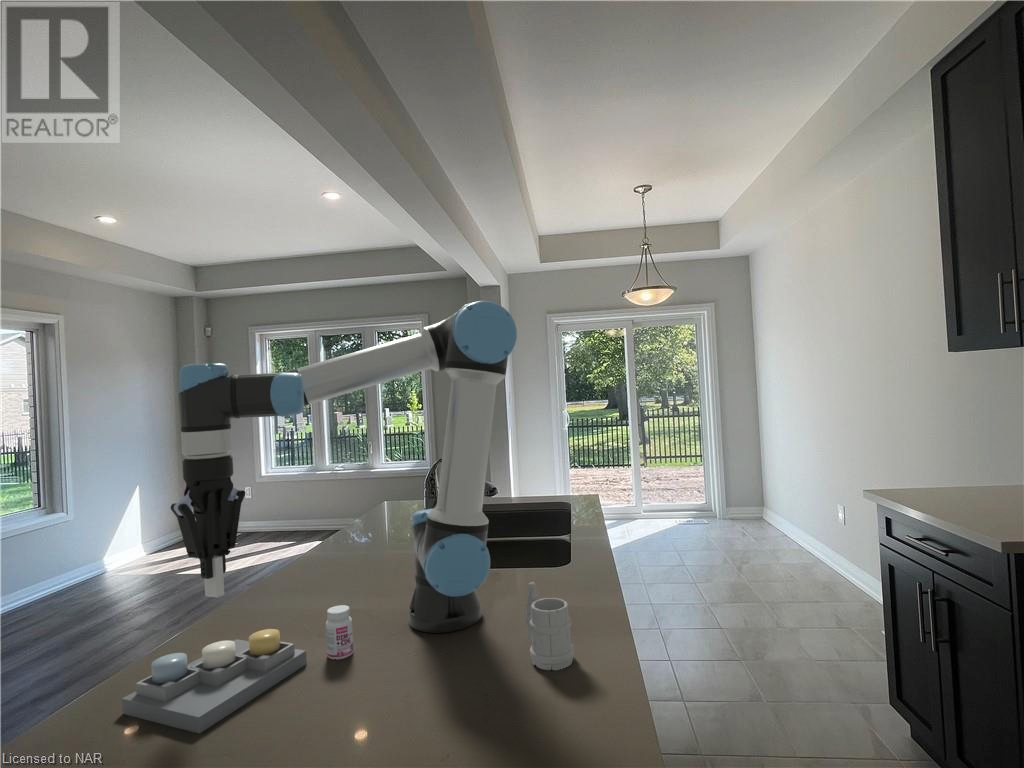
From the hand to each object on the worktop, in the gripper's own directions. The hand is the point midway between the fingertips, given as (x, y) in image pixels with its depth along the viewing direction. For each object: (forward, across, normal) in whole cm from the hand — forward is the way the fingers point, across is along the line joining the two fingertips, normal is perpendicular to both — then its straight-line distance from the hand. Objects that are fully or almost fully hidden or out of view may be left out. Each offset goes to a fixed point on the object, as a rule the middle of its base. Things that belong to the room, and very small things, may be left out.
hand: (214, 595), depth 99 cm
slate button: (+11, +6, -4) cm, 13 cm away
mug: (+16, -26, +49) cm, 58 cm away
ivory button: (+11, 0, 0) cm, 11 cm away
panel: (+16, 0, 0) cm, 16 cm away
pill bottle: (+16, -16, +12) cm, 26 cm away
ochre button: (+11, -6, +4) cm, 13 cm away
